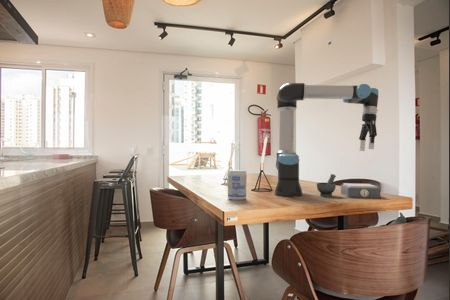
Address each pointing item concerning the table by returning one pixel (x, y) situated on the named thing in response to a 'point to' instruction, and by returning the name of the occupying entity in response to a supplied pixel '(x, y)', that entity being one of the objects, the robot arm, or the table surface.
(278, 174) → the robot arm
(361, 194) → the kitchen scale
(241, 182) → the supplement tub
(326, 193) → the mortar and pestle
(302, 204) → the table surface
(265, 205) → the table surface
